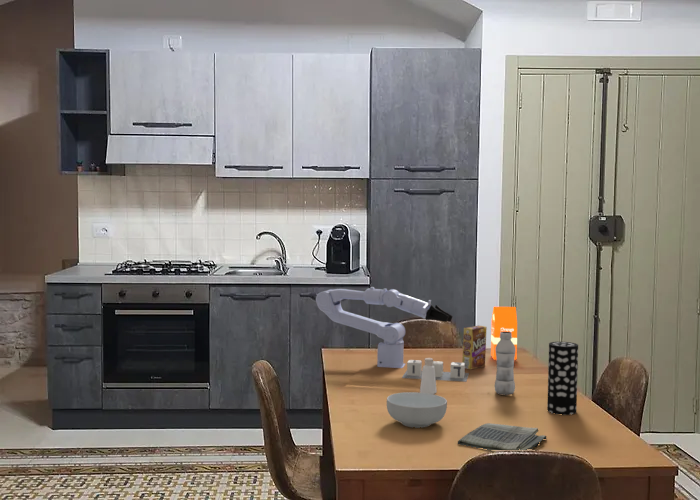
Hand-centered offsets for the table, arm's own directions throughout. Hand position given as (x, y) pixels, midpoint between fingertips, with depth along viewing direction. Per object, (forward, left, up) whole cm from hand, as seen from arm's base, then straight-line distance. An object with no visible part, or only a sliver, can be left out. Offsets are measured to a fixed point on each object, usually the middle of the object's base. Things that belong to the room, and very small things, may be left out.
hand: (449, 318), depth 290 cm
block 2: (+4, -10, -18) cm, 21 cm away
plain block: (-4, -10, -18) cm, 21 cm away
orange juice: (+18, +30, -19) cm, 40 cm away
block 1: (-11, -10, -18) cm, 24 cm away
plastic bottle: (+20, -29, -19) cm, 40 cm away
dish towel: (+21, -79, -20) cm, 84 cm away
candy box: (+8, +8, -19) cm, 23 cm away
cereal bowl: (-3, -68, -19) cm, 71 cm away
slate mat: (-4, -10, -19) cm, 22 cm away
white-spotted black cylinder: (+37, -45, -19) cm, 62 cm away
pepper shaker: (-4, -32, -19) cm, 38 cm away
